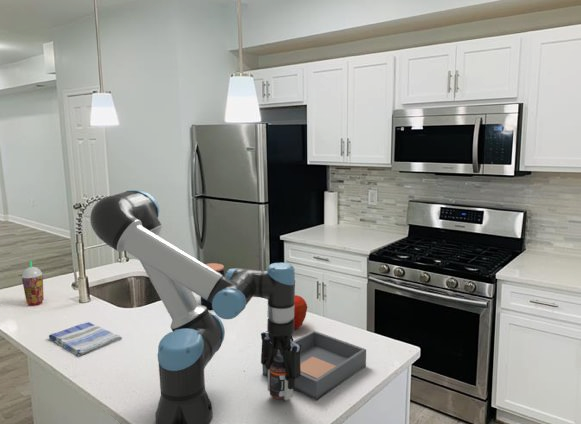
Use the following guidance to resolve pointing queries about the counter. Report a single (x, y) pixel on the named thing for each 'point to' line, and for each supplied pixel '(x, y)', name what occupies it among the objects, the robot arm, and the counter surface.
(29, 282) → the smoothie
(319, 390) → the bin
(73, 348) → the dish towel
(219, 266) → the coffee jar
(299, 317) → the apple
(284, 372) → the supplement bottle
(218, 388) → the counter surface
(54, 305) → the counter surface
